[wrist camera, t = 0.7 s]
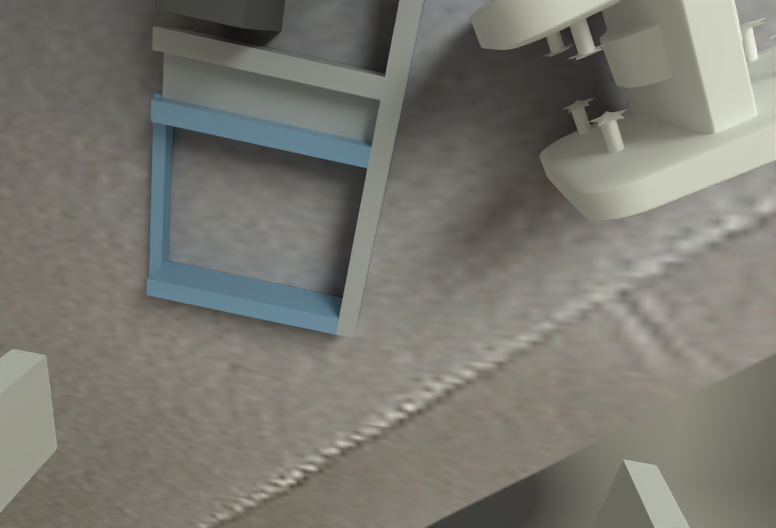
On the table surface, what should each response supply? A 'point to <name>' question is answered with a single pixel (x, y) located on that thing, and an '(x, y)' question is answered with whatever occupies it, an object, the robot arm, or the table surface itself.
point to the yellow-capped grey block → (230, 12)
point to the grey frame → (281, 131)
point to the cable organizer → (651, 98)
